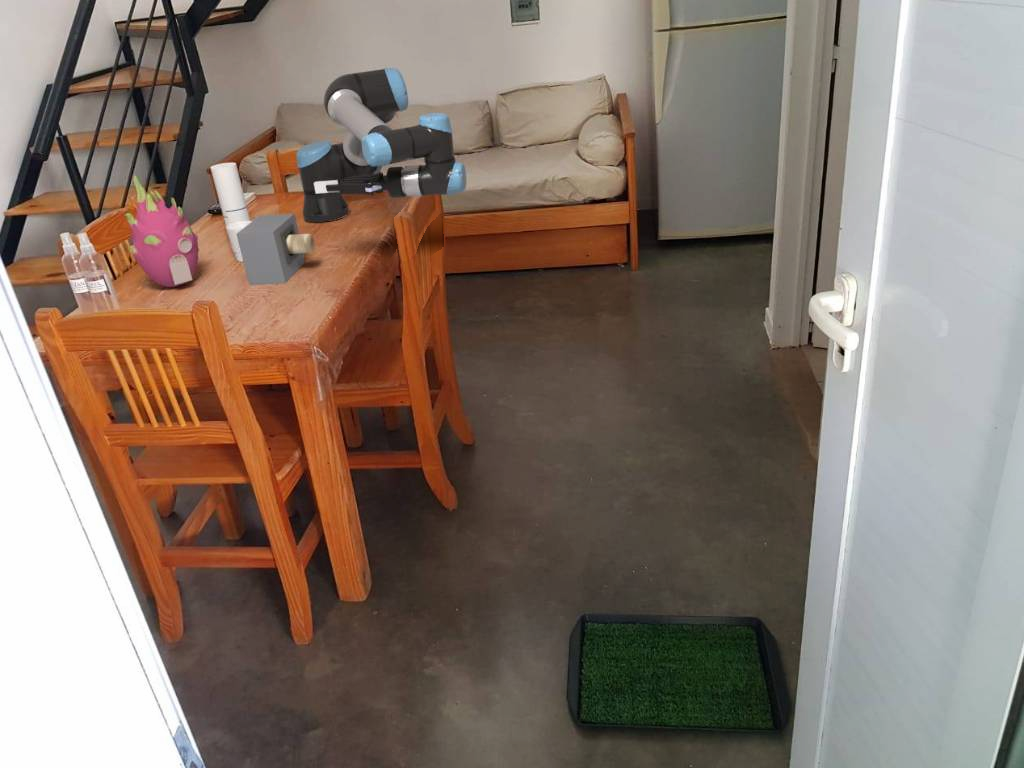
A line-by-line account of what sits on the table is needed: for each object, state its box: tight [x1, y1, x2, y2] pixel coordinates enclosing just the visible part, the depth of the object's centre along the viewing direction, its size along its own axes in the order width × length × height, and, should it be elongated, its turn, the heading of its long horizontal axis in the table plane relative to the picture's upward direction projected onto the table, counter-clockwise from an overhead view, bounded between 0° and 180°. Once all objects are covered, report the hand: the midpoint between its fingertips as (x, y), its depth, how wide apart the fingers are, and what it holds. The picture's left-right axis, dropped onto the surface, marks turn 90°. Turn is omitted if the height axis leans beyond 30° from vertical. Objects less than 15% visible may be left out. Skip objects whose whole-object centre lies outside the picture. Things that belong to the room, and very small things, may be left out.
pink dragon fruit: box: [124, 175, 200, 288], centre depth 205 cm, size 18×14×30 cm
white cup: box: [225, 220, 253, 263], centre depth 226 cm, size 8×8×10 cm
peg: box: [285, 233, 315, 254], centre depth 209 cm, size 10×5×5 cm, turn 84°
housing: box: [236, 213, 306, 286], centre depth 211 cm, size 11×16×14 cm, turn 174°
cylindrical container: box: [210, 162, 251, 253], centre depth 230 cm, size 7×7×25 cm
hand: (315, 187), depth 201 cm, fingers closed
